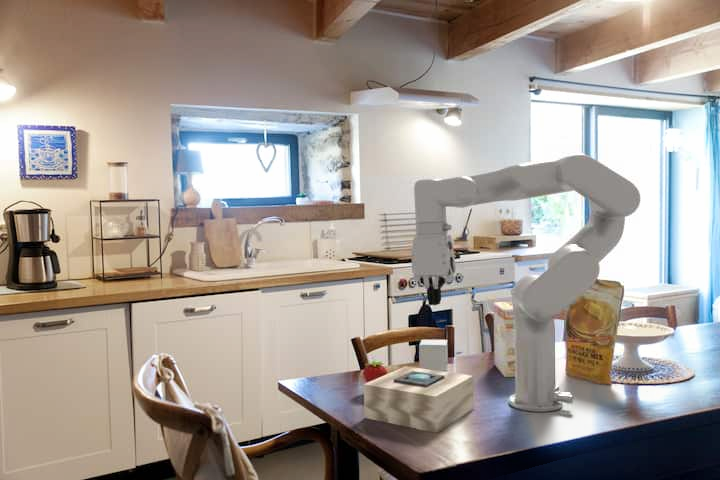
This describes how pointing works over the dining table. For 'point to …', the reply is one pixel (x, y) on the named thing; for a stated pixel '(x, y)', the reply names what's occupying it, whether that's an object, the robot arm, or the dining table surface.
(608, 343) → the pancake mix bag
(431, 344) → the supplement box
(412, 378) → the teal peg
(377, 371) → the strawberry
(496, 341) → the coffeecake box
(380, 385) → the collar block
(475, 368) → the dining table surface
